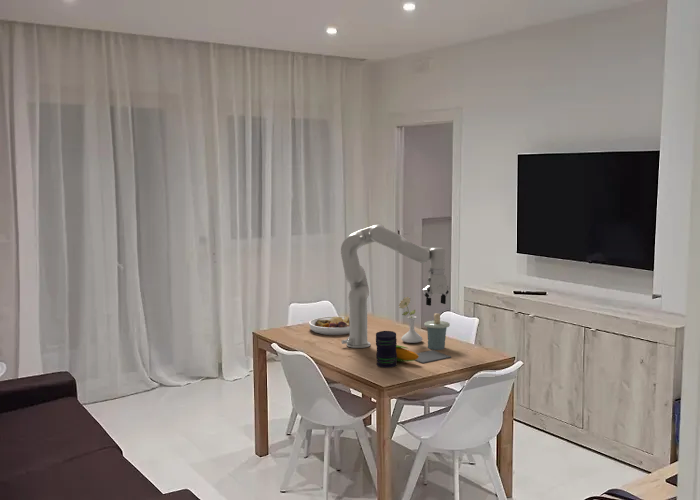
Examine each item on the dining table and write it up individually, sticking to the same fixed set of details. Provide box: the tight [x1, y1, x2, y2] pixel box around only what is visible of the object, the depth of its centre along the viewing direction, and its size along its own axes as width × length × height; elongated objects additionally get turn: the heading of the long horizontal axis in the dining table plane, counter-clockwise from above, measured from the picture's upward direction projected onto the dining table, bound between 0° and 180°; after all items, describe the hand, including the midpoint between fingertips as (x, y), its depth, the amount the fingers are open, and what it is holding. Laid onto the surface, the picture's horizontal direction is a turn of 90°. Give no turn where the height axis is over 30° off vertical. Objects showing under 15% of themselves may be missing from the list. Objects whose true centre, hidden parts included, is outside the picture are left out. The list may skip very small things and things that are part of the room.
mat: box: [414, 349, 452, 364], centre depth 328 cm, size 18×14×1 cm
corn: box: [396, 344, 419, 362], centre depth 320 cm, size 7×8×20 cm
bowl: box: [308, 315, 349, 336], centre depth 386 cm, size 30×30×8 cm
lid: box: [424, 312, 450, 328], centre depth 343 cm, size 13×13×6 cm
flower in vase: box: [398, 296, 423, 344], centre depth 356 cm, size 13×11×25 cm
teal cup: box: [426, 327, 448, 351], centre depth 344 cm, size 10×10×12 cm
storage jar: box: [375, 330, 398, 369], centre depth 314 cm, size 10×10×15 cm
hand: (435, 304), depth 343 cm, fingers open, 9 cm apart
